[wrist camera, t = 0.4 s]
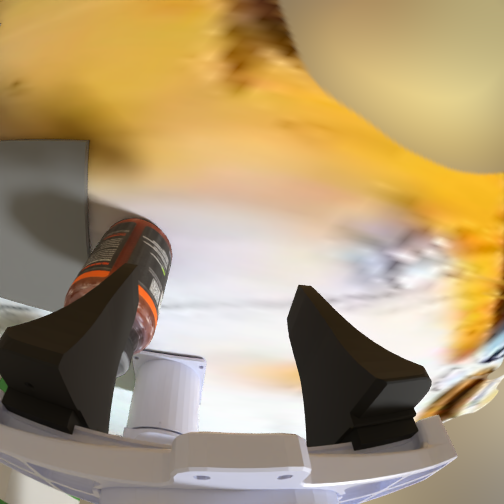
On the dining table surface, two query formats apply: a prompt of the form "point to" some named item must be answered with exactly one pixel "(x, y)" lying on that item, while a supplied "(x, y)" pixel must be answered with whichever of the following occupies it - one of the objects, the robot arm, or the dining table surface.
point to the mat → (42, 219)
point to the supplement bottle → (149, 276)
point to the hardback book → (27, 486)
